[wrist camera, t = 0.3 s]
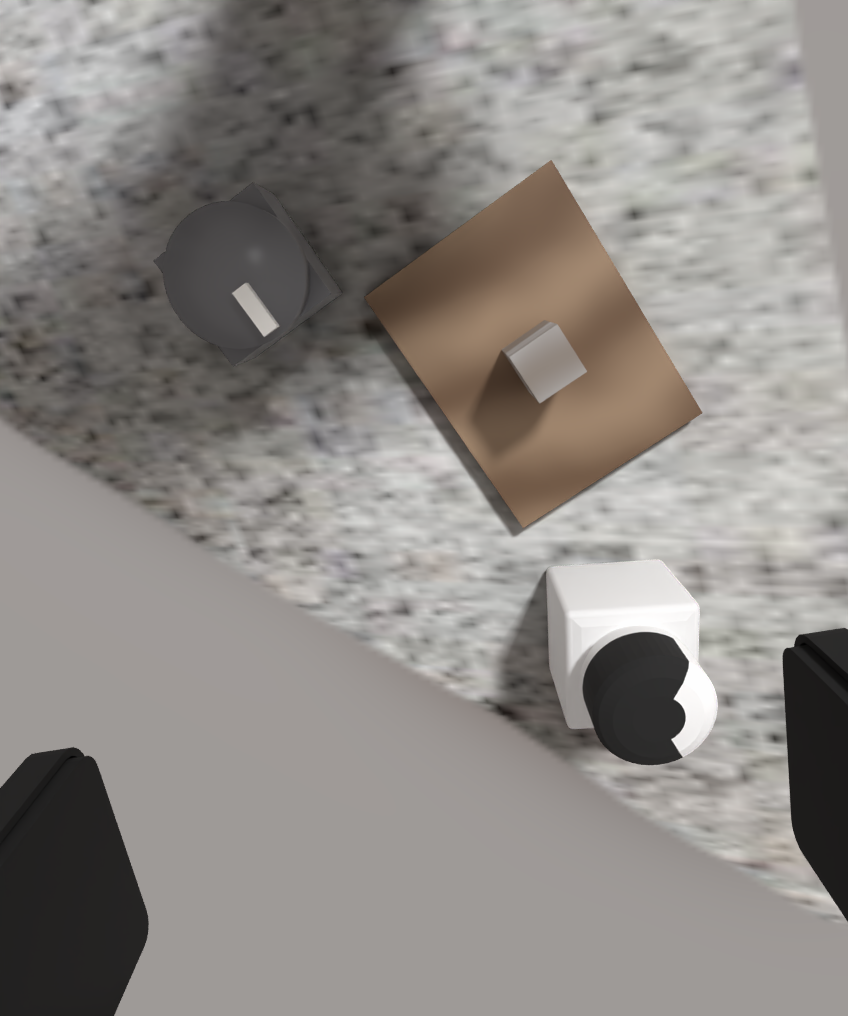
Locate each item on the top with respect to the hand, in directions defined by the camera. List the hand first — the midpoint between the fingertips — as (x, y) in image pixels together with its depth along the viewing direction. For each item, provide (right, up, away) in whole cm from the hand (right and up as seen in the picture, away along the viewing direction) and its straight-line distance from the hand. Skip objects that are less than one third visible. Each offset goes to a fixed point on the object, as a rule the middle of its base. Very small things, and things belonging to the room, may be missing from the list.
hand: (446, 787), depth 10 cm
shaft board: (+6, +12, +33) cm, 36 cm away
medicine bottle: (+11, -3, +38) cm, 39 cm away
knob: (-9, +16, +32) cm, 37 cm away
